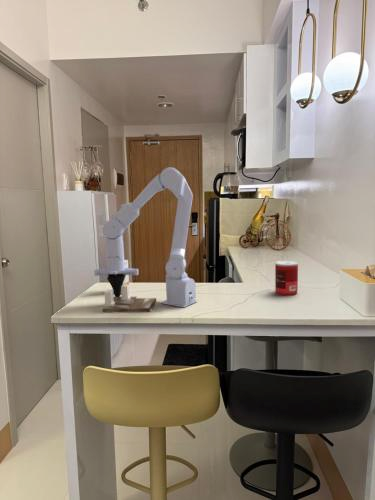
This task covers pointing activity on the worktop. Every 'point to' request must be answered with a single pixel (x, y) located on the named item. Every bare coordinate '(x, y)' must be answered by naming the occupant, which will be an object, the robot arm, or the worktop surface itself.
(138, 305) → the switch board
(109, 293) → the knob front
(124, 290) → the knob back
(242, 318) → the worktop surface
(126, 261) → the skincare box
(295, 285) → the canned food
